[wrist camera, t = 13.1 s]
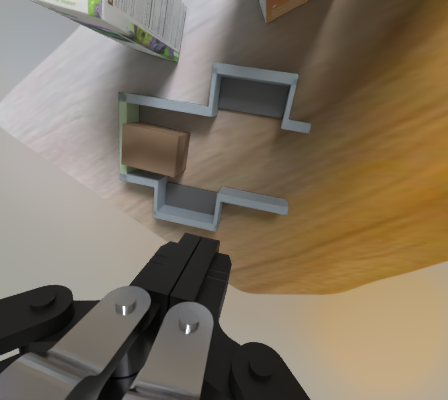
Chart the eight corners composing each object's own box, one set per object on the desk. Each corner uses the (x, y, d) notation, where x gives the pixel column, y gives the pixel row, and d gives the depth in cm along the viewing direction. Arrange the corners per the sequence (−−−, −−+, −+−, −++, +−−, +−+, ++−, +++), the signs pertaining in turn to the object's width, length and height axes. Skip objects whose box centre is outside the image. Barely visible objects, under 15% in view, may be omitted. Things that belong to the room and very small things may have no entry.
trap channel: (132, 53, 30) (118, 48, 27) (318, 80, 27) (324, 77, 24) (131, 202, 37) (120, 209, 35) (277, 235, 35) (278, 246, 32)
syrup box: (135, 50, 30) (23, 3, 16) (140, -8, 27) (16, -118, 14) (178, 63, 29) (100, 24, 16) (188, 4, 27) (106, -98, 14)
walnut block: (141, 121, 33) (122, 123, 29) (190, 132, 32) (178, 136, 28) (139, 157, 35) (121, 164, 31) (185, 168, 34) (173, 177, 30)
